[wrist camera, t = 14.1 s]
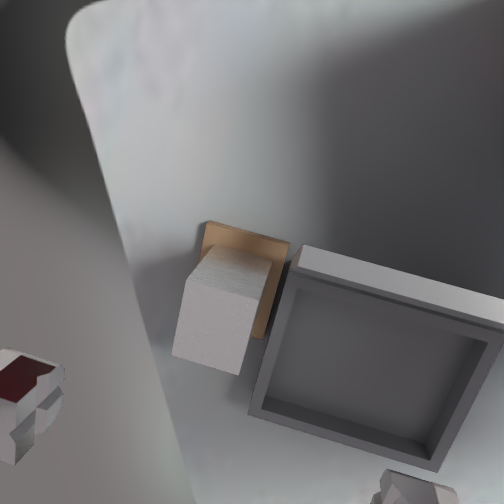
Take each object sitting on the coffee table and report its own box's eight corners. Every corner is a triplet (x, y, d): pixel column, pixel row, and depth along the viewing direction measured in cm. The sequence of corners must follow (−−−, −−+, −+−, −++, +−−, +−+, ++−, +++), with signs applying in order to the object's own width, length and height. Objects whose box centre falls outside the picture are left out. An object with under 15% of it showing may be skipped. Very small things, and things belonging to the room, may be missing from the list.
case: (492, 317, 35) (507, 335, 33) (429, 447, 40) (437, 473, 37) (291, 260, 37) (288, 273, 34) (252, 393, 41) (247, 414, 39)
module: (272, 260, 36) (259, 300, 28) (255, 324, 38) (238, 377, 30) (214, 243, 36) (186, 279, 29) (200, 308, 38) (170, 357, 31)
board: (289, 242, 36) (288, 246, 35) (263, 334, 39) (262, 340, 38) (209, 220, 37) (206, 223, 36) (190, 312, 40) (186, 317, 39)
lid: (512, 332, 32) (516, 319, 32) (694, 377, 18) (700, 353, 18) (289, 269, 33) (292, 257, 33) (297, 266, 19) (303, 244, 19)
